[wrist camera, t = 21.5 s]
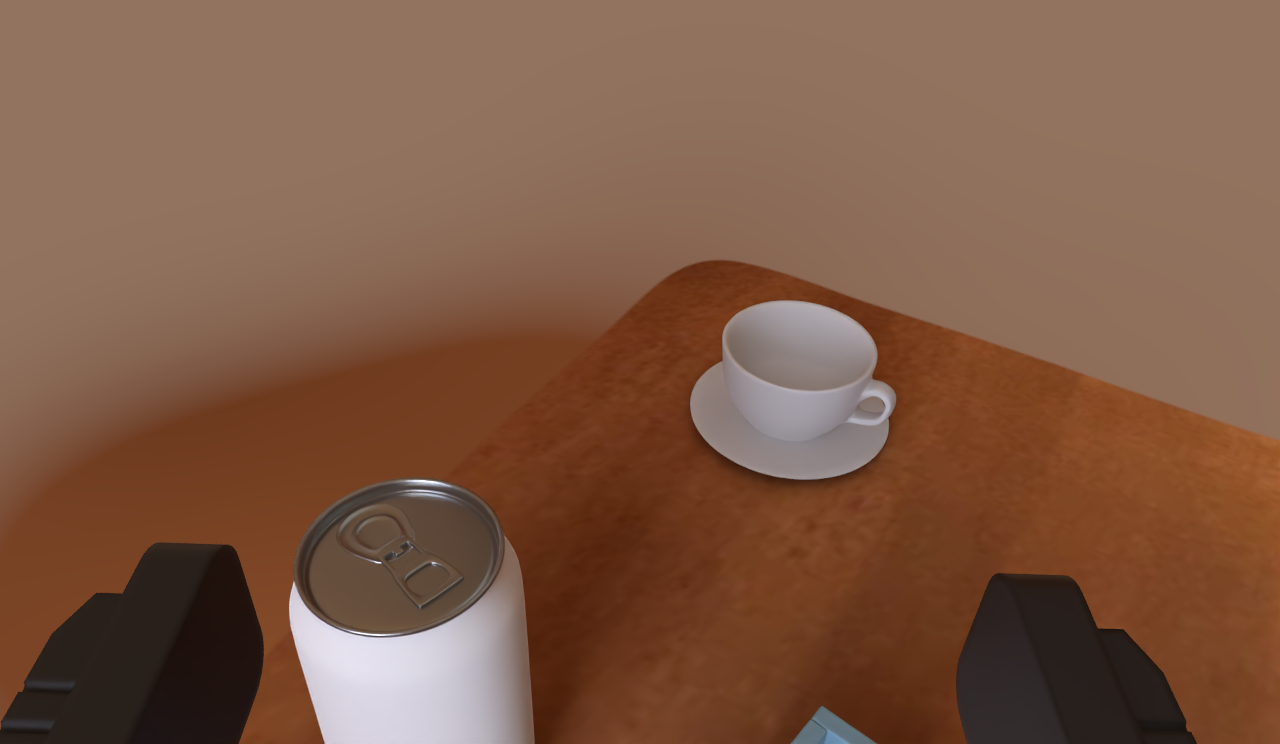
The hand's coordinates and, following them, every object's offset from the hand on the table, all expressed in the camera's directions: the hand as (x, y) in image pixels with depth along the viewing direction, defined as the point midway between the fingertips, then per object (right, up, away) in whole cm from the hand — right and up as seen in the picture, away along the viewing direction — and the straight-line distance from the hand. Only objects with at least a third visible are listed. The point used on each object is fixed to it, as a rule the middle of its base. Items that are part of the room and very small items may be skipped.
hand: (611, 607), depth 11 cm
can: (-7, -12, +24) cm, 27 cm away
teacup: (+8, 0, +40) cm, 41 cm away
